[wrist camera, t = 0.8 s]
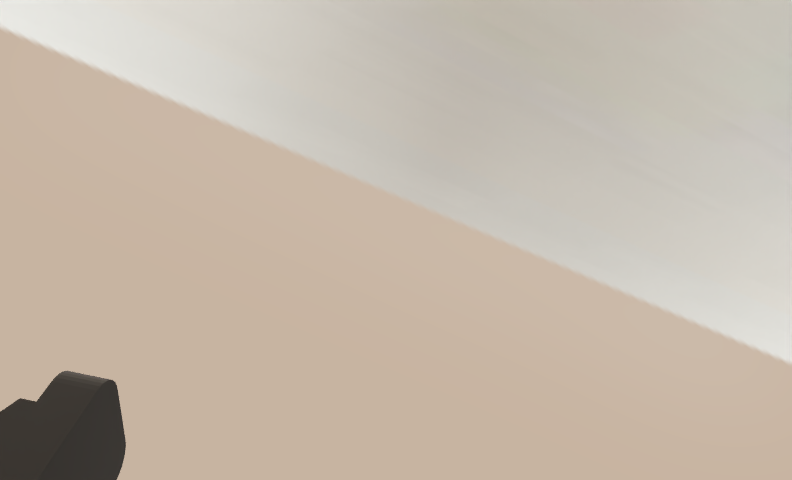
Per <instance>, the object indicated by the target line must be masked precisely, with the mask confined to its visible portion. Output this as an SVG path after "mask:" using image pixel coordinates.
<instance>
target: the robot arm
mask: <svg viewBox="0 0 792 480" xmlns="http://www.w3.org/2000/svg"><path fill="white" fill-rule="evenodd" d="M125 447H126V442H125V435H124V429H123V422H122V415H121V409H120V403H119V396H118V390H117V385H116V383H115V382H114V381H113V380H109V379H104V378H100V377H95V376H90V375H84V374H80V373H75V372H70V371H64V372H61V373H60V374H58V376H56V377H55V378H54V379H53V381H52V382H51V383H50V385H49V386H48V387H47V389H46V390H45V391H44V393H43V394H42V395H41V396H40V398H39V399H38V401H37V402H35V401H30V400H25V399H18V400H17V401H15V402H14V403H13V404H11V405H10V406H8V407H7V408H5V409H4V410H2V411H1V412H0V480H116V479H117V477H118V475H119V473H120V470H121V467H122V463H123V459H124V455H125Z"/></svg>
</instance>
